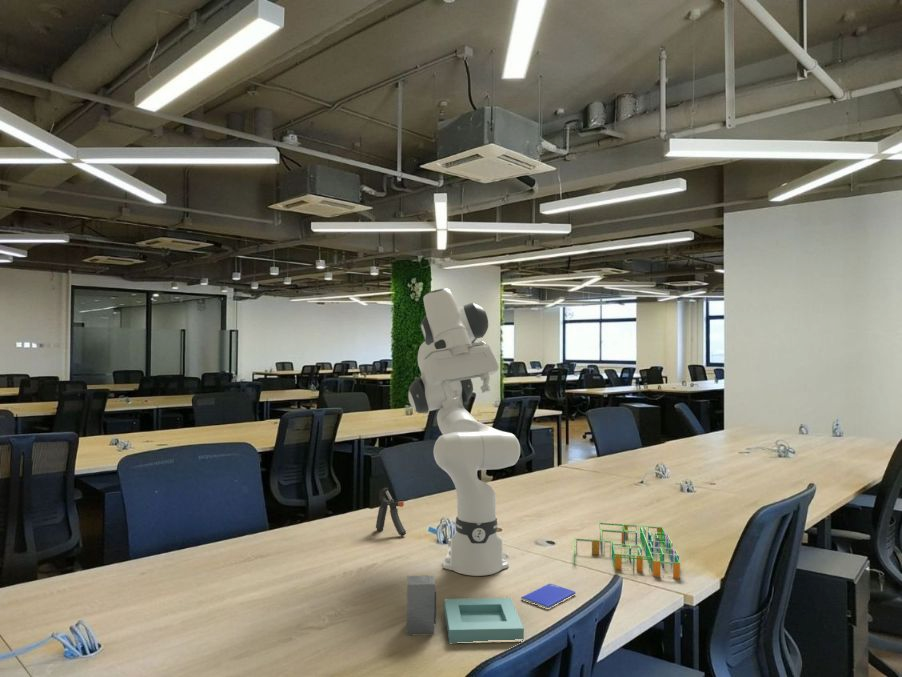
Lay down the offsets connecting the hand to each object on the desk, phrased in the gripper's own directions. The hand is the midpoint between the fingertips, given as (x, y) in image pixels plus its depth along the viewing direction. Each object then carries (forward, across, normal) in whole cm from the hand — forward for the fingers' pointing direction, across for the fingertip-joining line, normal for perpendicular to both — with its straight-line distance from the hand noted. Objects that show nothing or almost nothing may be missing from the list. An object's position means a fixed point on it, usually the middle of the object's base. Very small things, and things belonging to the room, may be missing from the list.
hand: (470, 395), depth 154 cm
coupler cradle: (+51, +12, -8) cm, 53 cm away
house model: (+52, -53, -30) cm, 80 cm away
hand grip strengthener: (+23, +1, -75) cm, 78 cm away
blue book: (+53, -11, -14) cm, 56 cm away
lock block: (+48, +25, -12) cm, 55 cm away
